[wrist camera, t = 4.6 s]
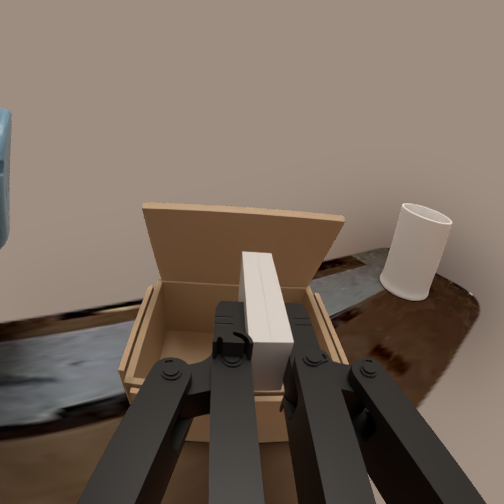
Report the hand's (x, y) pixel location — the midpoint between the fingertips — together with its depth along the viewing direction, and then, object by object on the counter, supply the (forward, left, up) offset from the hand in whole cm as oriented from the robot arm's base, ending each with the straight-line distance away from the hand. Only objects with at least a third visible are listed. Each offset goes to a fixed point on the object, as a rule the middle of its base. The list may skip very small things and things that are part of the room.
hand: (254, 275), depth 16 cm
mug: (+28, +20, -13) cm, 36 cm away
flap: (0, +9, -6) cm, 11 cm away
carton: (0, +3, -12) cm, 13 cm away
